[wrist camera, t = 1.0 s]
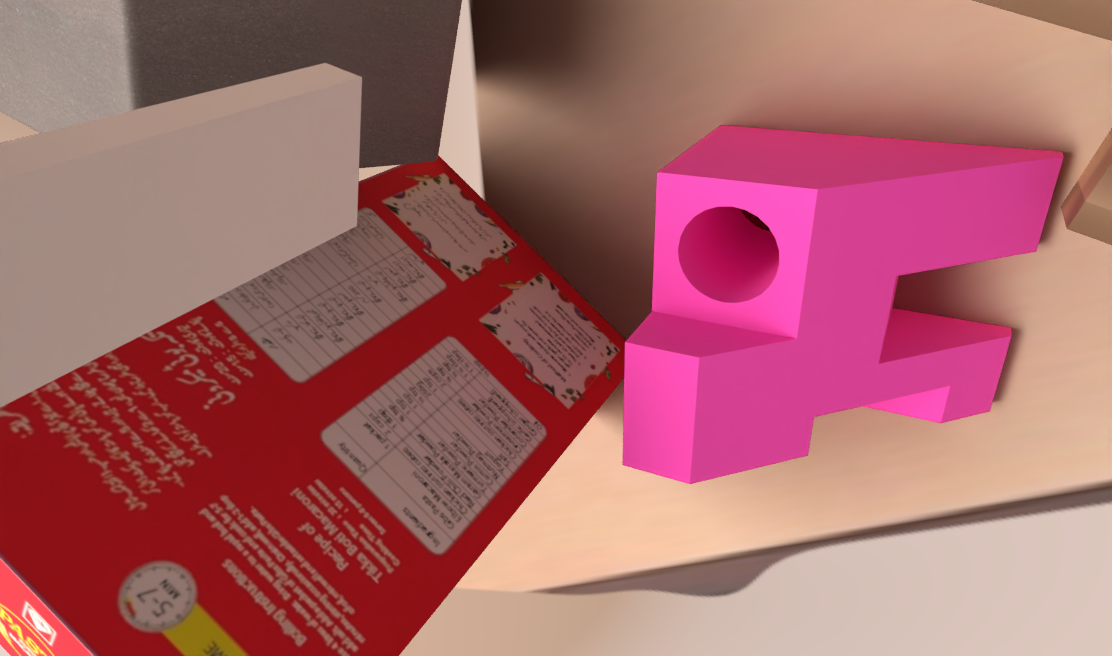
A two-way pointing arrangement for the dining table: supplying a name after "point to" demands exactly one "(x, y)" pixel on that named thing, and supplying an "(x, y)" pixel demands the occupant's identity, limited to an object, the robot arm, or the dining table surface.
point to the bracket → (815, 290)
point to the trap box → (1108, 181)
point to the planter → (230, 59)
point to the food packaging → (301, 443)
